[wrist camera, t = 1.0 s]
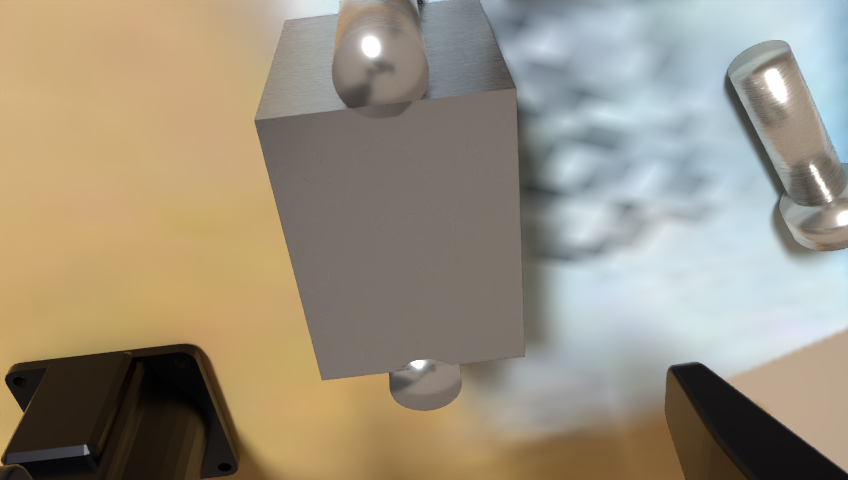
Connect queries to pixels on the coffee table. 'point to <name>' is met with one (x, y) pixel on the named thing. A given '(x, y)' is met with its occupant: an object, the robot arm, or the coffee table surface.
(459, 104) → the block
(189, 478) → the robot arm
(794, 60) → the loose bolt
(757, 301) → the coffee table surface
